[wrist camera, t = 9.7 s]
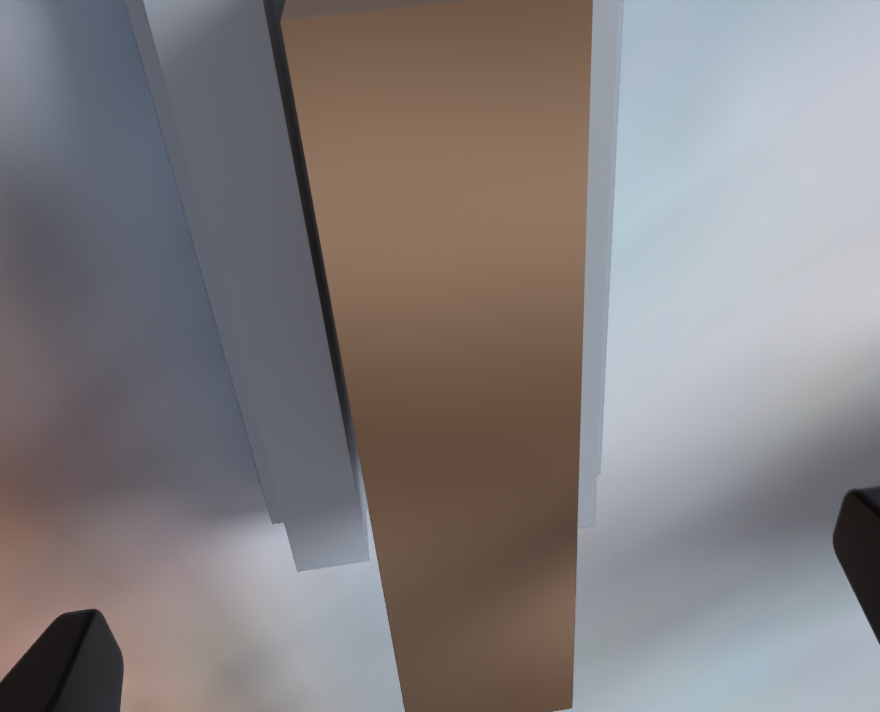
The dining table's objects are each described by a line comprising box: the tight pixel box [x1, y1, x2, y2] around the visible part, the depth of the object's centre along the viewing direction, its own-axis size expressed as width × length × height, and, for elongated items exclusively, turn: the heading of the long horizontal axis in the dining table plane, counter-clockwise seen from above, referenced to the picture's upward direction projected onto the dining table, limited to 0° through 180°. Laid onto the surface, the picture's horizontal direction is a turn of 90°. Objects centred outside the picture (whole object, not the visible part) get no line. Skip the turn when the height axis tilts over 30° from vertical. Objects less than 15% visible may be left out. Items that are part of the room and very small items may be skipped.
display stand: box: [124, 0, 624, 572], centre depth 18 cm, size 18×10×3 cm, turn 5°
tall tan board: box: [280, 0, 593, 712], centre depth 14 cm, size 12×3×9 cm, turn 5°
